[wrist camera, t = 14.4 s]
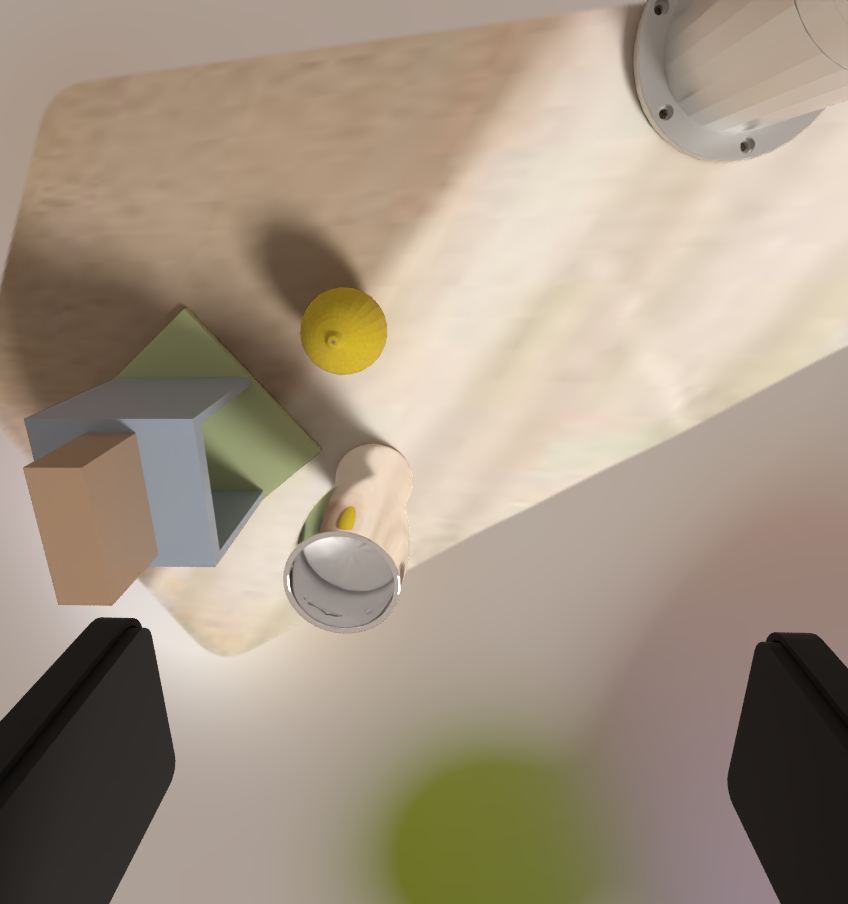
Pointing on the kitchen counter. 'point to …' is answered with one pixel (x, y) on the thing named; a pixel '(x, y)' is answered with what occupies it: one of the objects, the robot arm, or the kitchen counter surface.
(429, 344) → the kitchen counter surface
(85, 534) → the cover
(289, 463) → the mat
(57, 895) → the robot arm
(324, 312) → the lemon
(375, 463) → the beer glass
